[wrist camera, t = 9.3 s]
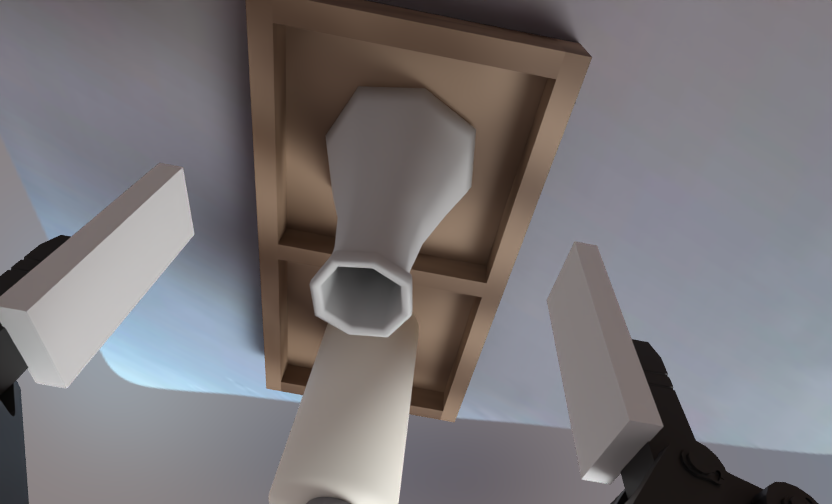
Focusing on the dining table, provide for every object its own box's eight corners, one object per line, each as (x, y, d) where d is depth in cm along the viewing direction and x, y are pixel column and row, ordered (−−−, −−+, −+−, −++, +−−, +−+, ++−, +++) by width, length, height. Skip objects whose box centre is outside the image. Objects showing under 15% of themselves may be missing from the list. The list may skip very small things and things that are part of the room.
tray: (267, -20, 18) (245, -13, 17) (579, 43, 19) (592, 57, 17) (277, 361, 33) (266, 388, 31) (455, 394, 33) (454, 422, 31)
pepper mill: (332, 284, 27) (240, 534, 16) (426, 302, 27) (398, 561, 16) (328, 347, 30) (249, 589, 19) (411, 362, 30) (379, 611, 19)
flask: (444, 240, 24) (433, 401, 16) (312, 197, 23) (231, 343, 15) (503, 115, 20) (526, 247, 12) (344, 56, 19) (255, 156, 11)
